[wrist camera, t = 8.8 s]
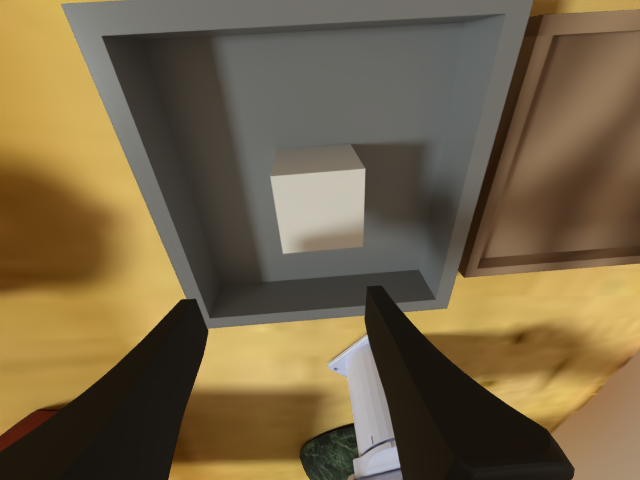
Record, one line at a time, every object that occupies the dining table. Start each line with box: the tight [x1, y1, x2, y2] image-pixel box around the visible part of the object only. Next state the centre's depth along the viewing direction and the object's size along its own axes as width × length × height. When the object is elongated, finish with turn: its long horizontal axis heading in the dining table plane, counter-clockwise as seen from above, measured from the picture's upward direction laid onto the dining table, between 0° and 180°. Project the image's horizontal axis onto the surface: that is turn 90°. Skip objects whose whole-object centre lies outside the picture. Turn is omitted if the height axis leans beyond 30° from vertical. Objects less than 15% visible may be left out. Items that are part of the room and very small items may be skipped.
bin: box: [61, 0, 534, 329], centre depth 17 cm, size 18×18×4 cm
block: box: [270, 144, 365, 254], centre depth 16 cm, size 4×4×4 cm
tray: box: [458, 9, 640, 278], centre depth 19 cm, size 16×16×2 cm
